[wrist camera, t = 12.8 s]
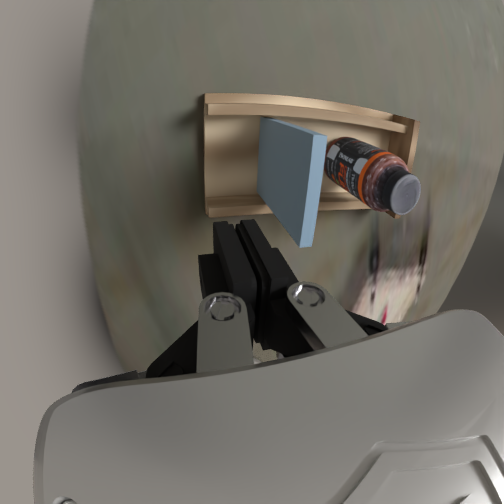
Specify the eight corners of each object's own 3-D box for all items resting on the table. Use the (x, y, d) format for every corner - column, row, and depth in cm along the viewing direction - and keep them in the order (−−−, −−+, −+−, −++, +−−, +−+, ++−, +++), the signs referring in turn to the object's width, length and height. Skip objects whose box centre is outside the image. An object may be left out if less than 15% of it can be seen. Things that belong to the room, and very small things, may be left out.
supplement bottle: (311, 154, 29) (373, 189, 20) (349, 126, 28) (419, 150, 19) (334, 192, 32) (392, 236, 23) (368, 164, 32) (433, 199, 22)
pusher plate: (265, 191, 30) (311, 246, 20) (256, 191, 30) (299, 247, 20) (269, 117, 26) (327, 136, 16) (260, 116, 25) (313, 134, 16)
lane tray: (378, 202, 36) (399, 218, 32) (205, 210, 31) (210, 231, 27) (393, 114, 29) (419, 121, 25) (204, 93, 24) (209, 93, 20)
